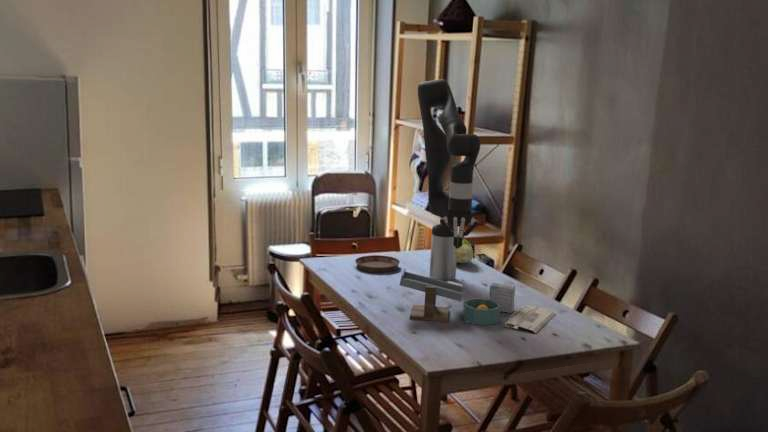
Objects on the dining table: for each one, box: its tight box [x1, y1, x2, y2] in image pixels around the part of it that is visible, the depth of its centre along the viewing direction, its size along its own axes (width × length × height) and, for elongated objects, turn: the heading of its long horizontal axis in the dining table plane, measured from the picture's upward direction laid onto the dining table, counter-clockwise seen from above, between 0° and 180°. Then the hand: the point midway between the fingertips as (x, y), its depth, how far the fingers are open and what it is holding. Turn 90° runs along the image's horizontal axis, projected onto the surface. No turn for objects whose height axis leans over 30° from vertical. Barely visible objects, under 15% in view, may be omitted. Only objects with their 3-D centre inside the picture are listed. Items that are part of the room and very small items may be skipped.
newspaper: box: [503, 304, 557, 334], centre depth 229 cm, size 23×12×2 cm, turn 151°
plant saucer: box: [354, 254, 400, 273], centre depth 281 cm, size 18×18×3 cm
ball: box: [477, 305, 489, 310], centre depth 228 cm, size 4×4×4 cm
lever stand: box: [409, 276, 450, 323], centre depth 229 cm, size 11×12×11 cm
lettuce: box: [455, 234, 474, 264], centre depth 292 cm, size 12×21×11 cm, turn 21°
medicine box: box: [488, 282, 516, 314], centre depth 236 cm, size 8×4×9 cm, turn 71°
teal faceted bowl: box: [462, 297, 501, 326], centre depth 228 cm, size 11×12×5 cm
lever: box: [399, 267, 464, 302], centre depth 231 cm, size 15×20×5 cm
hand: (457, 247), depth 233 cm, fingers closed
